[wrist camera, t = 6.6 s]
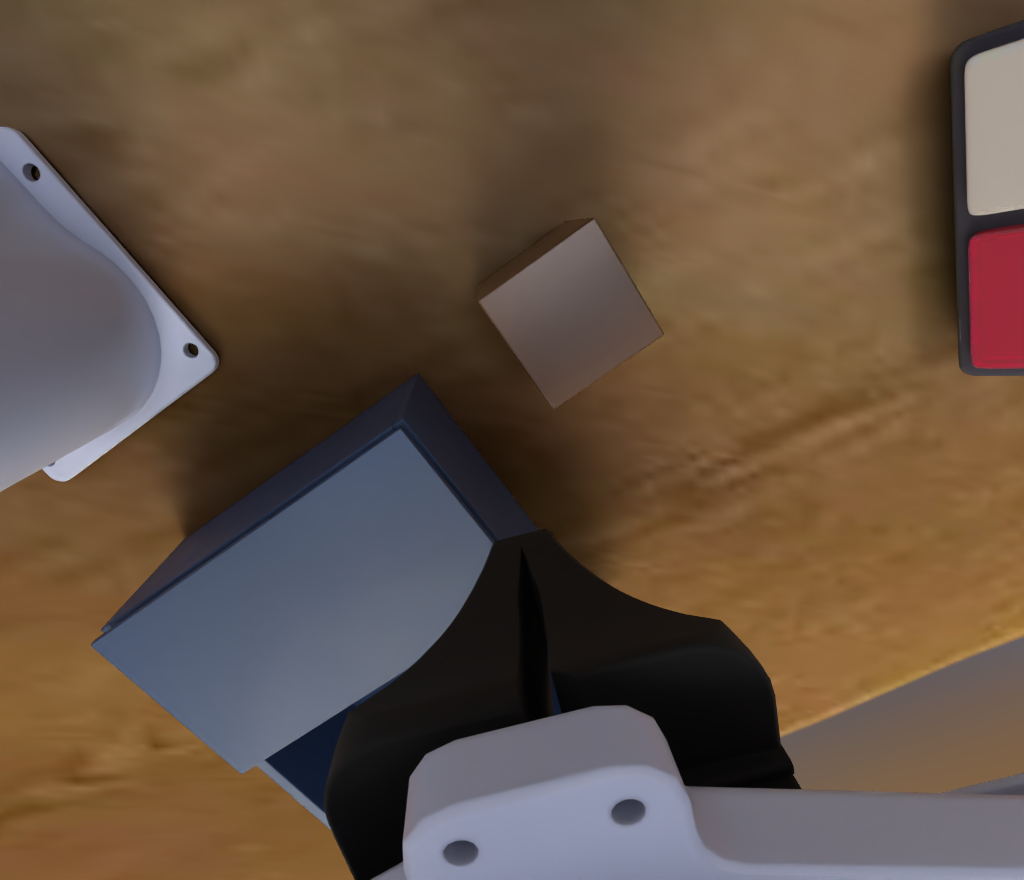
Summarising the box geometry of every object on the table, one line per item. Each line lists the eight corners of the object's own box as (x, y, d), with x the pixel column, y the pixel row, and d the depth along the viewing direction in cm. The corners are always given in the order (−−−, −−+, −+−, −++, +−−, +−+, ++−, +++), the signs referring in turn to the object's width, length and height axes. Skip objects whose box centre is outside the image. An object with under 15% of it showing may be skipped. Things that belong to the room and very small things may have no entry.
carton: (601, 612, 27) (642, 726, 21) (390, 742, 28) (369, 885, 22) (418, 372, 23) (399, 424, 17) (183, 539, 24) (86, 644, 18)
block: (474, 286, 22) (477, 300, 17) (566, 220, 22) (594, 216, 17) (536, 374, 23) (553, 410, 19) (623, 313, 23) (665, 334, 18)
